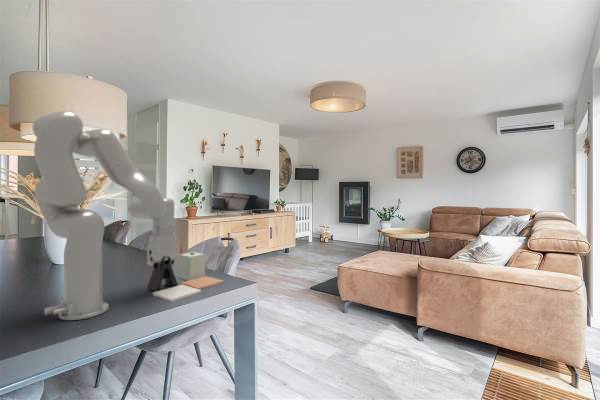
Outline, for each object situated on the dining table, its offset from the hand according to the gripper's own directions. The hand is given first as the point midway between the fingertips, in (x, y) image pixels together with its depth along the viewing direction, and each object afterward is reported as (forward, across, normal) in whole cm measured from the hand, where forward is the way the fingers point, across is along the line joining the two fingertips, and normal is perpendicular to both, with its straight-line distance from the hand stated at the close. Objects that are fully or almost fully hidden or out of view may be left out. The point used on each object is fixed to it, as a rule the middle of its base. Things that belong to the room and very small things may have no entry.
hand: (162, 278), depth 120 cm
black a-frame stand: (+3, 0, 0) cm, 3 cm away
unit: (+3, -16, -4) cm, 17 cm away
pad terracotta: (+3, -13, +7) cm, 15 cm away
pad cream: (+4, 0, +10) cm, 11 cm away
